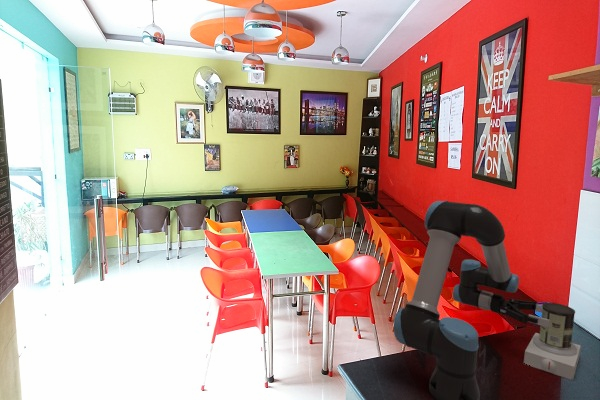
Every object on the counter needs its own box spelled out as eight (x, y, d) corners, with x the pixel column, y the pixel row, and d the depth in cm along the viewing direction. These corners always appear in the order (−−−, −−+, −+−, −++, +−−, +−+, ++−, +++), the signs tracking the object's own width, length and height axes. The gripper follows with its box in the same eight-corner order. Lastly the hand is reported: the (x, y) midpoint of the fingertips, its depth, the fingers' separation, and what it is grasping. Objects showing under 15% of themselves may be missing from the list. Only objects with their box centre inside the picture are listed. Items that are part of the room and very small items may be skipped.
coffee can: (563, 338, 149) (567, 303, 147) (576, 351, 139) (581, 314, 137) (534, 335, 151) (537, 301, 149) (545, 348, 141) (549, 312, 139)
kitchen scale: (523, 364, 141) (524, 349, 140) (534, 344, 156) (535, 330, 155) (572, 381, 131) (574, 365, 130) (579, 357, 146) (581, 343, 146)
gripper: (499, 302, 169) (556, 317, 154) (481, 320, 150) (544, 338, 136) (501, 286, 168) (558, 299, 154) (483, 301, 149) (546, 318, 135)
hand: (552, 317), depth 145 cm, fingers open, 13 cm apart
